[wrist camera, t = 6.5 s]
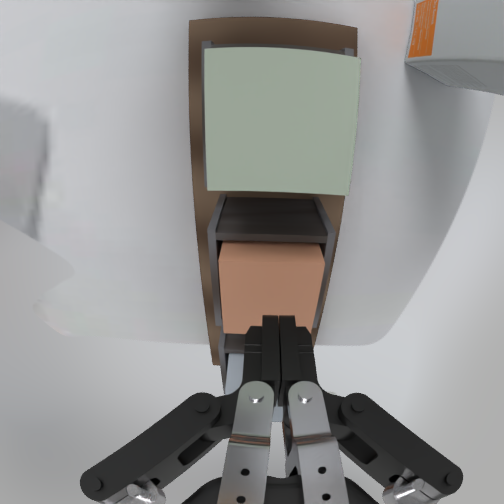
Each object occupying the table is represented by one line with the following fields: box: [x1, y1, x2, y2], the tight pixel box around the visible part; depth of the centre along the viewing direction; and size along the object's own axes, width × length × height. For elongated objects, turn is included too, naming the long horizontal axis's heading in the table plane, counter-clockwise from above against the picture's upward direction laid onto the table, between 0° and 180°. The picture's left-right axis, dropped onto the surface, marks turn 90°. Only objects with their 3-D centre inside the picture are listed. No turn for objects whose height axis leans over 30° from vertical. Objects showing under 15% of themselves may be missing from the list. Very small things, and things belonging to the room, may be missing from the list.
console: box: [189, 17, 357, 394], centre depth 18 cm, size 30×10×6 cm, turn 179°
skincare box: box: [405, 0, 504, 95], centre depth 7 cm, size 6×4×12 cm
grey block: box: [225, 353, 283, 422], centre depth 20 cm, size 5×5×6 cm
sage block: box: [204, 47, 361, 196], centre depth 11 cm, size 5×5×6 cm
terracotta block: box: [218, 240, 325, 334], centre depth 17 cm, size 5×5×6 cm
